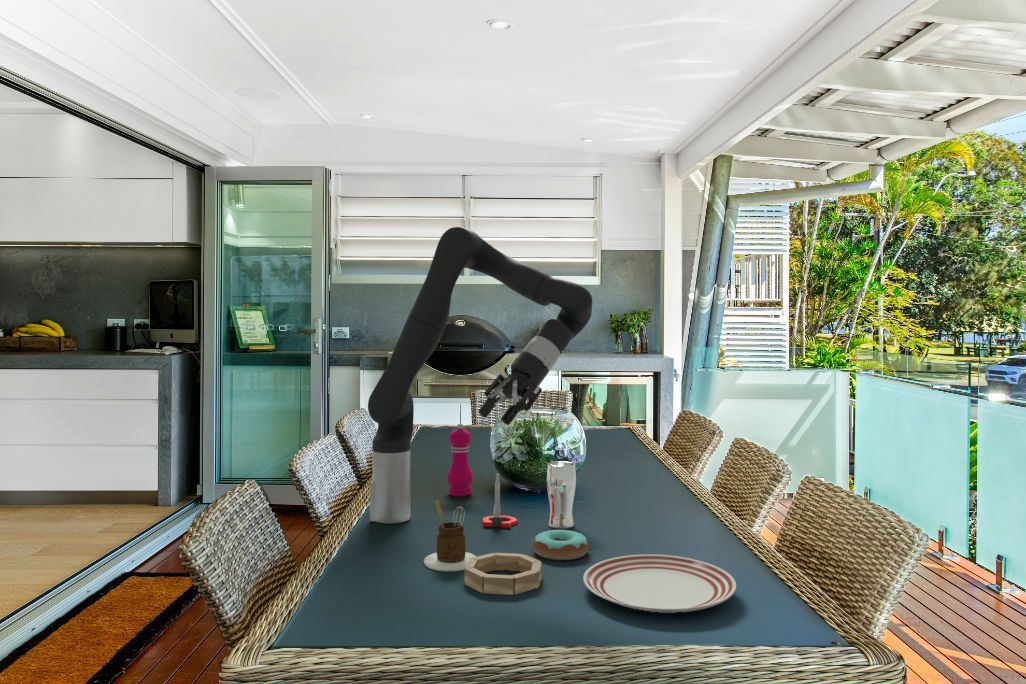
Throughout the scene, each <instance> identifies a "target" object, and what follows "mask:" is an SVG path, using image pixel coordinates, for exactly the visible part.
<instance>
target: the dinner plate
mask: <svg viewBox="0 0 1026 684" xmlns="http://www.w3.org/2000/svg"><path fill="white" fill-rule="evenodd" d="M582 578H583V579H582V581H583V583H584V585H585V587H586V588H587V589H588V590H589V591H590V592H591V593H593V594H594V595H596V596H598V597H600V598H601V599H604V600H606V601H609V602H611V603H614V604H617V605H619V606H621V607H626V608H629V609H632V610H633V609H634V610H637V609H638V610H637V611H641V610H644V611H643V612H647V611H650V612H649V613H655V612H659V613H658V614H679V613H678V612H682V613H690V612H695V611H701V610H705V609H709V608H712V607H715V606H718V605H720V604H722V603H724V602H726V601H727V600H728V599H730V598H731V597H732V596H733V595H734V594H735V593H736V590H737V583H736V580H735V578H734V577H733V575H731V573H729V572H728V571H726V570H724V569H723V568H721V567H719V566H716V565H714V564H712V563H708V562H705V561H702V560H697V559H694V558H689V557H684V556H683V557H682V556H678V555H669V554H630V555H623V556H616V557H612V558H608V559H605V560H602V561H599V562H597V563H595V564H593V565H591V566H590V567H588V568H587V569H586V570H585V572H584V573H583V577H582ZM676 612H677V613H676Z"/></svg>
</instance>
